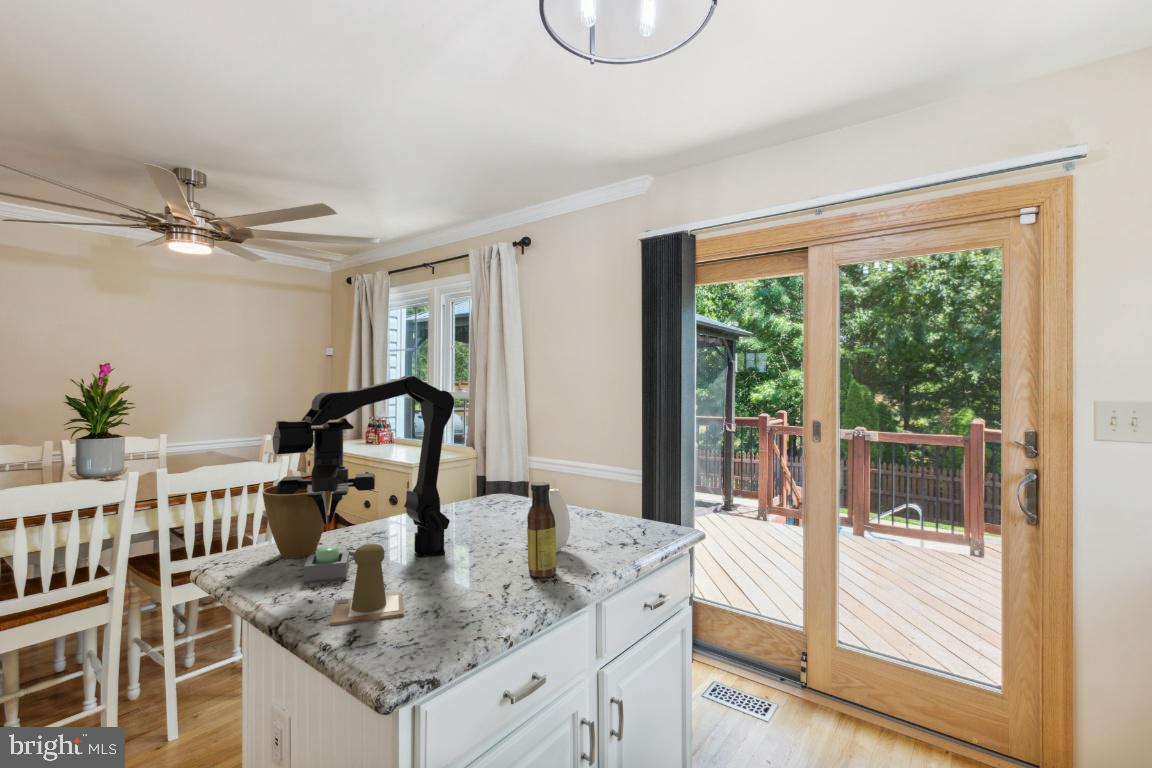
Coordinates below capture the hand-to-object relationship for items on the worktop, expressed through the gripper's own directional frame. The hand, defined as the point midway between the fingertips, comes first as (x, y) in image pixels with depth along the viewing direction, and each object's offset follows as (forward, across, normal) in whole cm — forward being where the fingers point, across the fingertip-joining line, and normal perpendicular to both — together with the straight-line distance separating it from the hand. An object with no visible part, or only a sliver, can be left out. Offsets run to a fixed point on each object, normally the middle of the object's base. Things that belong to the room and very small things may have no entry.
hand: (327, 523), depth 115 cm
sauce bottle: (+11, +44, -13) cm, 47 cm away
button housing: (+11, 0, 0) cm, 11 cm away
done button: (+8, 0, 0) cm, 8 cm away
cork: (+11, +9, -21) cm, 25 cm away
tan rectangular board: (+11, +9, -21) cm, 25 cm away
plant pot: (+11, -8, +17) cm, 22 cm away
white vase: (+11, +51, +1) cm, 52 cm away
